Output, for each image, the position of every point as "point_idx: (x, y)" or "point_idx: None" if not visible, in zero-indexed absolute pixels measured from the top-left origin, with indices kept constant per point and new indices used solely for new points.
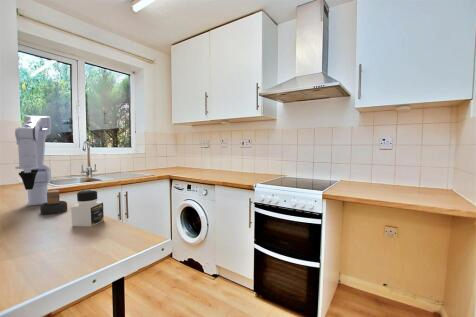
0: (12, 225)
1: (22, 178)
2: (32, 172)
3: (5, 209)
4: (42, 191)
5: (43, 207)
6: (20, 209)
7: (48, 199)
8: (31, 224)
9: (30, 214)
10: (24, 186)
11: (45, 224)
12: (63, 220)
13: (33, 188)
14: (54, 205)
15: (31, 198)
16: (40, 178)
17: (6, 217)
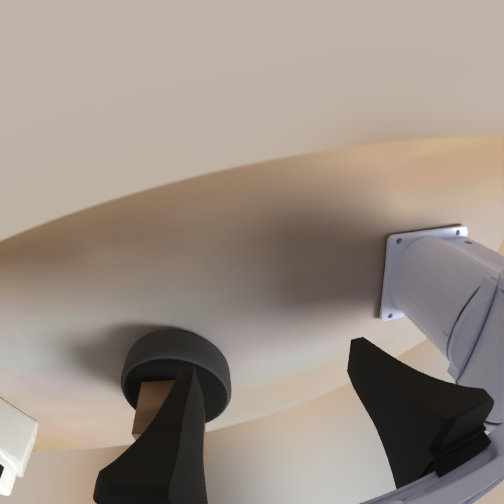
0: (16, 259)
1: (129, 450)
2: (405, 468)
3: (380, 147)
4: (425, 334)
5: (128, 363)
6: (333, 218)
7: (139, 405)
8: (15, 315)
9: (170, 289)
10: (172, 385)
11: (10, 349)
12: (41, 387)
13: (448, 310)
14: (127, 399)
15: (418, 267)
16: (477, 381)
17: (161, 193)
